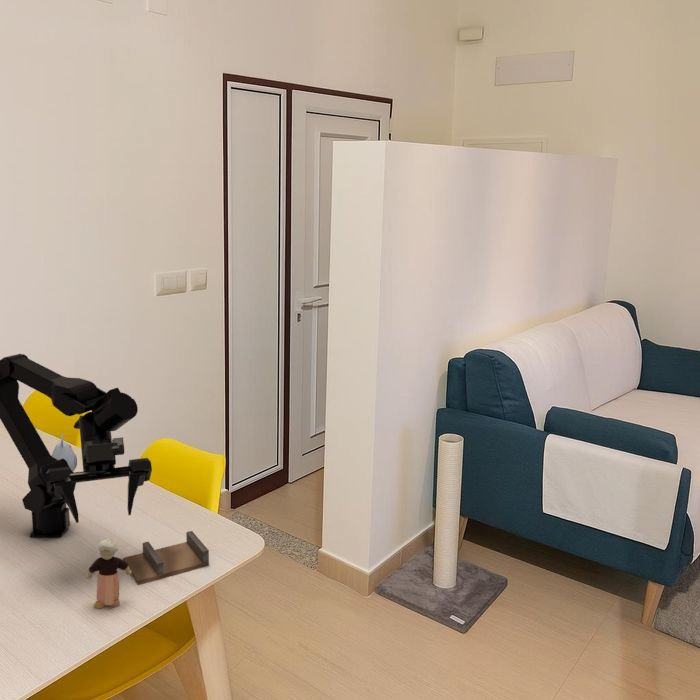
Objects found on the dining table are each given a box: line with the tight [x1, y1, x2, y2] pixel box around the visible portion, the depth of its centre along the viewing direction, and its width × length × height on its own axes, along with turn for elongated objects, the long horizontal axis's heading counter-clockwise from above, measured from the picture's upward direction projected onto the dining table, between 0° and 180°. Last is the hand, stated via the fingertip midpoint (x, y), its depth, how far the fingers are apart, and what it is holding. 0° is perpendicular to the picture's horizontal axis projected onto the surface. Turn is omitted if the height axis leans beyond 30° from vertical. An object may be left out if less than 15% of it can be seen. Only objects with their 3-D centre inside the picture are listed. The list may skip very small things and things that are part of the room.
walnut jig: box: [122, 530, 210, 585], centre depth 145 cm, size 14×10×3 cm
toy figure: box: [51, 433, 78, 472], centre depth 178 cm, size 11×6×12 cm, turn 19°
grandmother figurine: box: [85, 538, 132, 609], centre depth 130 cm, size 8×4×13 cm, turn 114°
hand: (103, 518), depth 135 cm, fingers open, 9 cm apart
